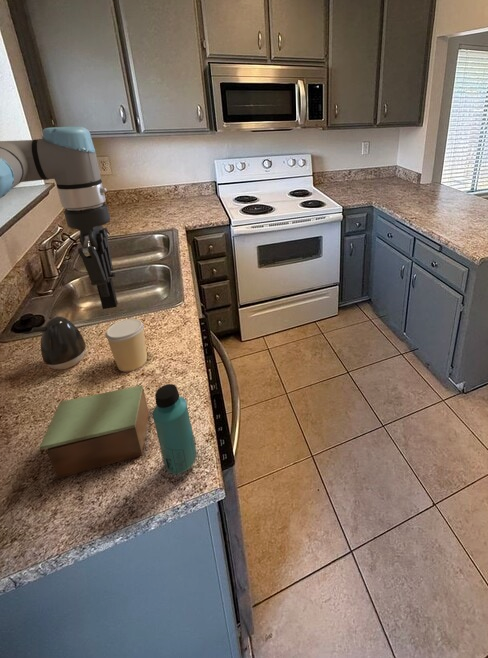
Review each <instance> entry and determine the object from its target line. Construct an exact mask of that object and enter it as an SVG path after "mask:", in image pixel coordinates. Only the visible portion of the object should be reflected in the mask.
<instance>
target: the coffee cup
mask: <svg viewBox="0 0 488 658" xmlns="http://www.w3.org/2000/svg"><path fill="white" fill-rule="evenodd" d="M105 339H106V340H107V342H108V346H109V348H110V350H111V353H112V356H113V359H114V362H115V365H116V367H117V369H118V370H119V371H121V372H131V371H135V370H137V369H139V368H141V367H142V366H144V365H145V363H147V359H148V355H147V354H148V353H147V345H146V337H145V331H144V323H143V322H142V321H141V320H140V319H138V318H125V319H122V320H119V321H117V322H115V323H113V324H111V325H110V326H109V327H108V328H107V330H106V333H105Z"/></svg>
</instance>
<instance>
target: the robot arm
mask: <svg viewBox="0 0 488 658" xmlns="http://www.w3.org/2000/svg"><path fill="white" fill-rule="evenodd" d="M41 132H42V136H41V138H38V139H37V138H35V139H23V140H21V139H19V140H0V199H1V198H3V197H5V196H6V195H7V194H8V193H9V192H10V191H11V190H12V189H14V188H15V187H17V186H18V185H19V184H21V183H27V182H37V181H49V180H54V181H55V184H56V189H57V193H58V197H59V200H60V201H59V202H60V205H61V207H62V208H63V209H64V210H63V215H64V217H65V221H66V226H67V227H68V228H69V229H72V230H78V231H79V236H78V239H79V243H80V245H81V246H82V247H78V249H77V253H78V255H79V256H80V258H81V259H82V262H83V264H84V267H85V270H86V272H87V275H88V277H89V280H90V285H91V286H96V288H97V292H98V296H99V299H100V304H101V308H102V310H106V309H113V308H117V307H118V304H119V303H118V298H117V294H116V290H115V286H114V282H113V278H115V277H116V272H113V270H114V267H113V261H112V256H111V249H110V243H109V236H108V235H109V233H108V232H109V230H108V228H107V227H103V226H104V225H107V224H108V223H109V222H110V221H111V215H110V211H109V206H108V204H106V203H105V202H106V194H105V193H107V192H108V189H107V188H106V187H103V181H102V177H101V171H100V167H99V161H98V156H97V152H96V148H95V145H94V142H93V138H92V135H91V132H90V130H89V129H87V128H86V127H85V126H77V125H76V126H53V127H52V126H51V127H46V128H43V130H42V131H41Z"/></svg>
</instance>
